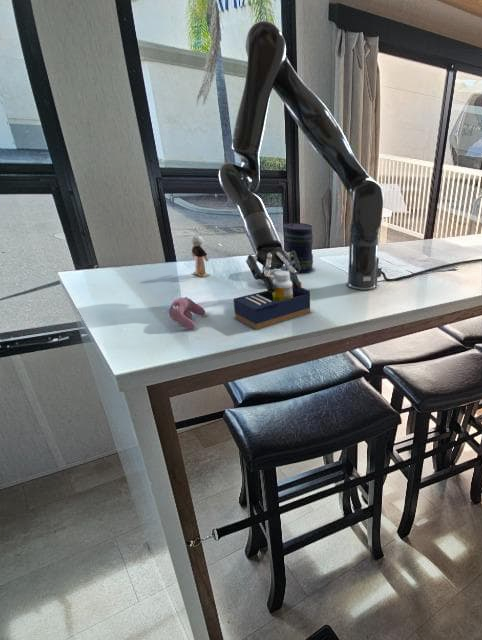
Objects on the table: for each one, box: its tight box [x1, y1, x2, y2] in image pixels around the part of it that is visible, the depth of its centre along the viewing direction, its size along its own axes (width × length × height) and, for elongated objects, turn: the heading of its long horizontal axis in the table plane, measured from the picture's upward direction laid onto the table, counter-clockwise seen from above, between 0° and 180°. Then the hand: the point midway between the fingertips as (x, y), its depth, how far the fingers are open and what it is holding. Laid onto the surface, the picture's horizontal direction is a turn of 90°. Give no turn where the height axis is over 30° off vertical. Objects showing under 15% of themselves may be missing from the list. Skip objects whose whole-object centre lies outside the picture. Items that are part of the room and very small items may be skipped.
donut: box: [257, 269, 282, 286], centre depth 136 cm, size 10×4×10 cm
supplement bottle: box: [272, 271, 293, 302], centre depth 114 cm, size 5×5×10 cm
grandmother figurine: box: [190, 234, 210, 278], centre depth 133 cm, size 8×4×13 cm, turn 68°
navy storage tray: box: [232, 281, 311, 330], centre depth 113 cm, size 18×9×8 cm, turn 142°
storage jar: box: [283, 222, 314, 275], centre depth 147 cm, size 10×10×15 cm
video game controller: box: [167, 296, 206, 330], centre depth 105 cm, size 10×5×7 cm, turn 5°
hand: (285, 289), depth 113 cm, fingers open, 6 cm apart
